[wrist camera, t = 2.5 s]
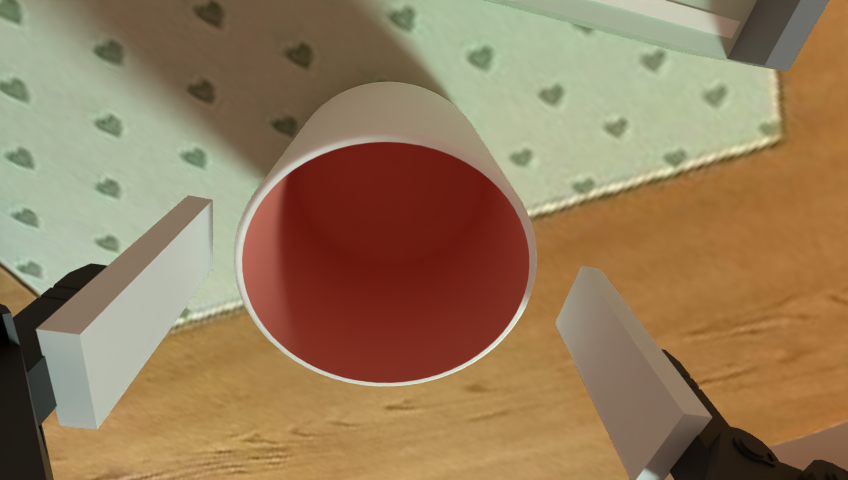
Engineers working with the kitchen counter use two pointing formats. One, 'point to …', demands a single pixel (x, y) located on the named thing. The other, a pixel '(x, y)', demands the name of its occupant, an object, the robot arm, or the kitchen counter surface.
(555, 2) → the dock
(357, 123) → the cup
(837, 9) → the kitchen counter surface
